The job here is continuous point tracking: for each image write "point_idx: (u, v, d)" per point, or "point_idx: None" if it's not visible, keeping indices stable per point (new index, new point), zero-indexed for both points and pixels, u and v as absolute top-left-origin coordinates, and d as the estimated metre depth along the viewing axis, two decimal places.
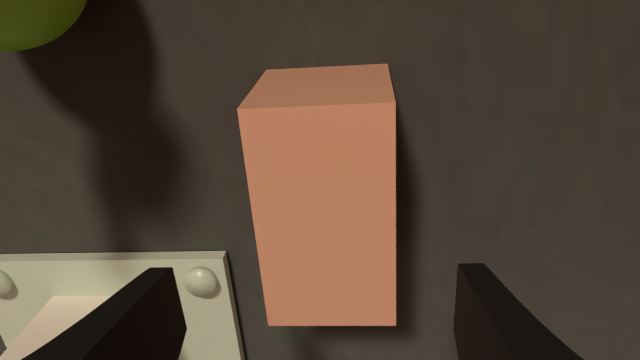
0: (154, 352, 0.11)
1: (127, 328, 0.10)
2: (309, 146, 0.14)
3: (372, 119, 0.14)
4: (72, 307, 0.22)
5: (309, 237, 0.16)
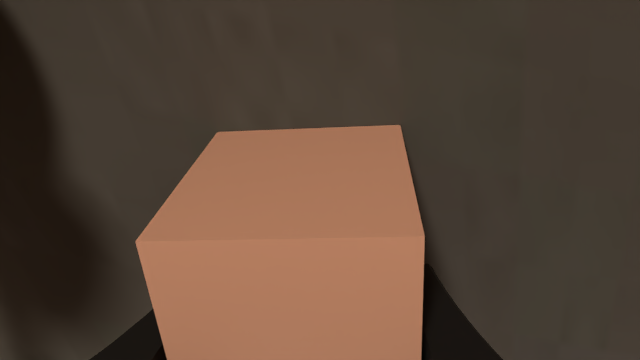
0: None
1: None
2: (268, 302, 0.08)
3: (381, 263, 0.08)
4: None
5: None
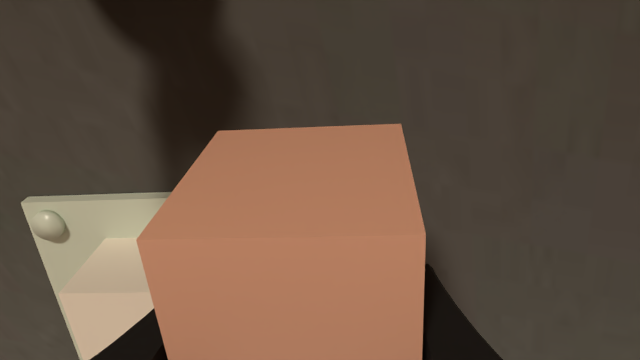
0: None
1: None
2: (269, 300, 0.08)
3: (382, 261, 0.08)
4: (127, 247, 0.22)
5: None
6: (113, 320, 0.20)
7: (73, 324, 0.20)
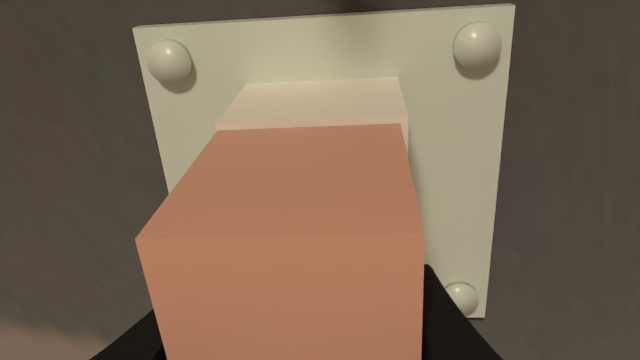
0: None
1: None
2: (268, 299, 0.08)
3: (381, 261, 0.08)
4: (285, 88, 0.16)
5: None
6: None
7: None
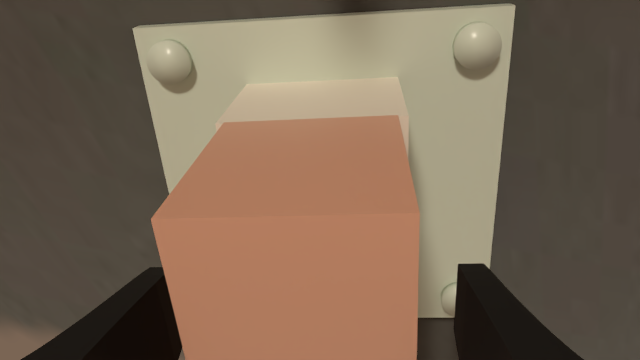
0: (154, 352, 0.11)
1: (127, 328, 0.10)
2: (274, 276, 0.09)
3: (380, 238, 0.08)
4: (285, 88, 0.16)
5: None
6: None
7: None
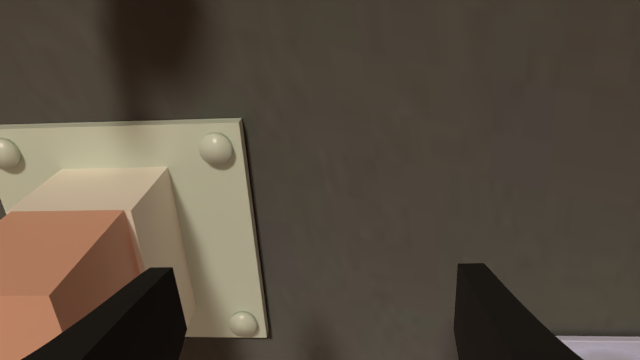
0: (154, 352, 0.11)
1: (127, 328, 0.10)
2: None
3: (32, 308, 0.14)
4: (82, 176, 0.22)
5: None
6: None
7: None
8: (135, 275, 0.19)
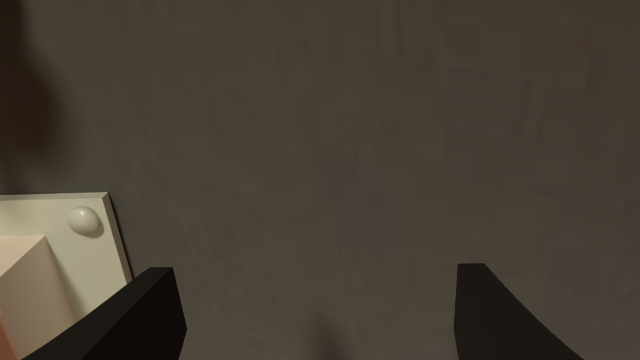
0: (154, 352, 0.11)
1: (127, 328, 0.10)
2: None
3: None
4: None
5: None
6: None
7: None
8: (0, 341, 0.22)
